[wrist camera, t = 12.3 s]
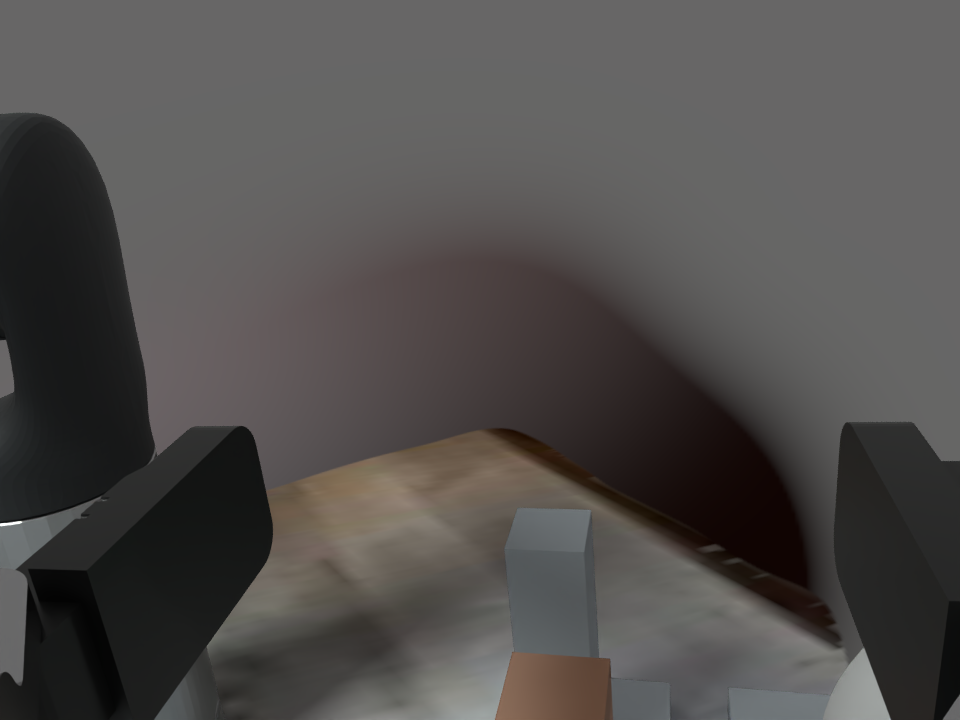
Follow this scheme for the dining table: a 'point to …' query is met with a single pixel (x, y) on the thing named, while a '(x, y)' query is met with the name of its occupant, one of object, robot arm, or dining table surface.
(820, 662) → the dining table surface
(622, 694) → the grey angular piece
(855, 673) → the milk bottle
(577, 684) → the wooden bookend
